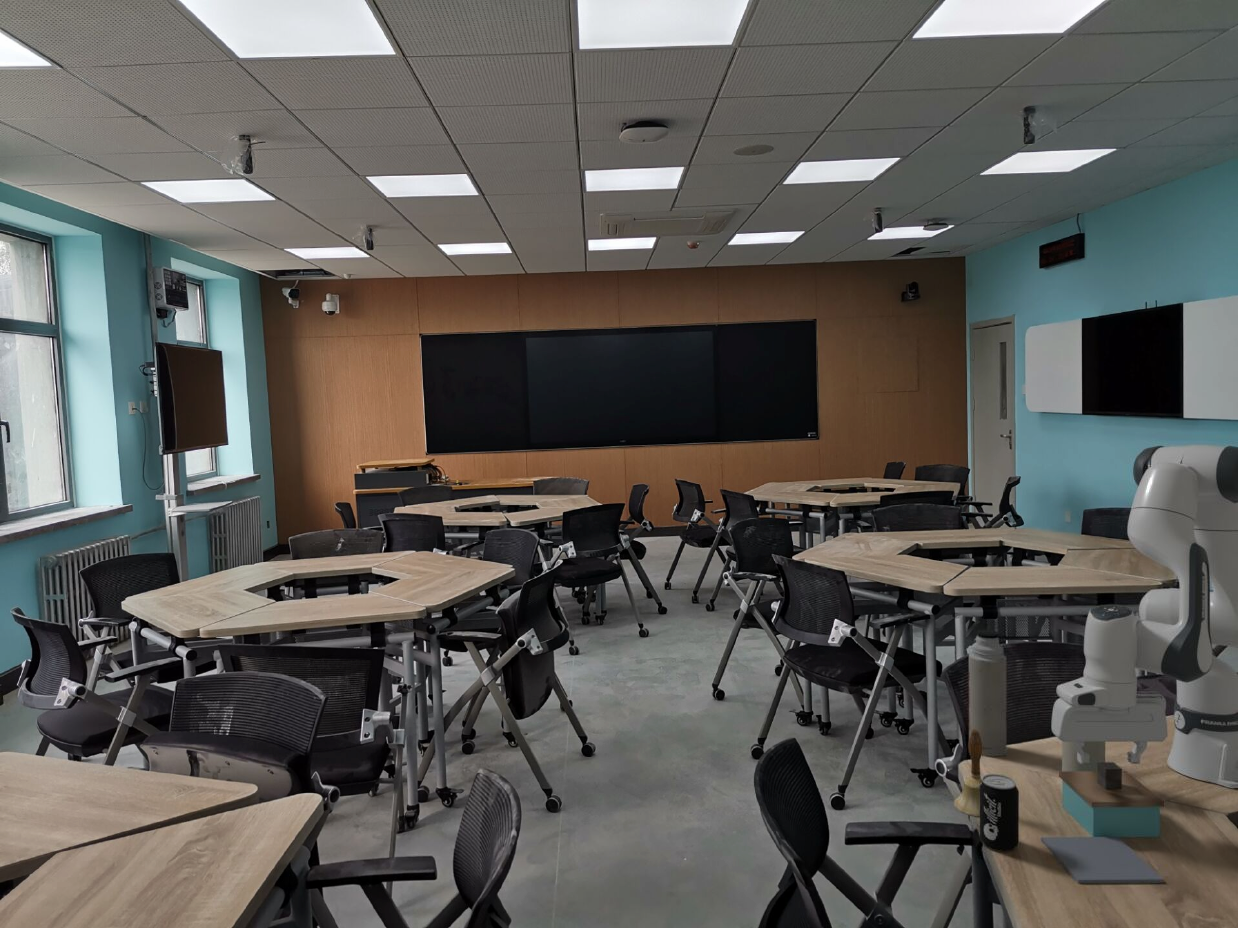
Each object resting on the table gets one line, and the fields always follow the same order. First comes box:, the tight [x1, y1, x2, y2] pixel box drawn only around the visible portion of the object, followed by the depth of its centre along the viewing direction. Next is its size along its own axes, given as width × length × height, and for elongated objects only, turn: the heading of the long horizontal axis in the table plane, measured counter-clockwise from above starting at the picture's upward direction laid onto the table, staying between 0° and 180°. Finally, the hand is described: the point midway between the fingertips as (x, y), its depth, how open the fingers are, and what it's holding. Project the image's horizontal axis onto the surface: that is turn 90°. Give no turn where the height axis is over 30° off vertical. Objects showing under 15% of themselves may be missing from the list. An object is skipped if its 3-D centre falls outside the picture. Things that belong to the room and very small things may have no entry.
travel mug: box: [1061, 741, 1106, 772], centre depth 178 cm, size 8×8×18 cm
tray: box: [1040, 836, 1164, 884], centre depth 150 cm, size 14×14×1 cm
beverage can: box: [979, 773, 1020, 852], centre depth 156 cm, size 7×7×12 cm
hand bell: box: [953, 730, 983, 818], centre depth 170 cm, size 8×8×16 cm
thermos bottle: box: [968, 629, 1007, 758], centre depth 196 cm, size 8×8×28 cm
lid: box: [1058, 761, 1165, 808], centre depth 163 cm, size 13×13×5 cm
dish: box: [1061, 780, 1161, 838], centre depth 163 cm, size 12×12×6 cm
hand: (1108, 762), depth 162 cm, fingers open, 8 cm apart
